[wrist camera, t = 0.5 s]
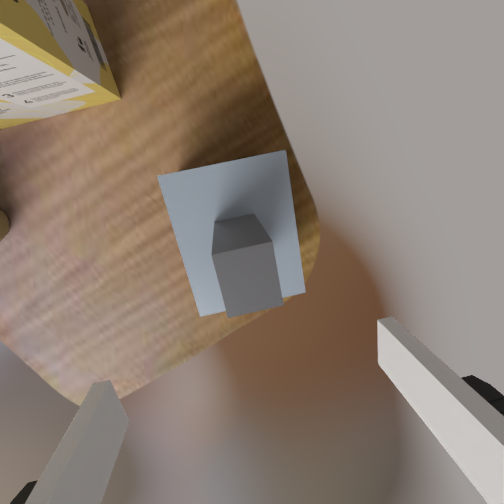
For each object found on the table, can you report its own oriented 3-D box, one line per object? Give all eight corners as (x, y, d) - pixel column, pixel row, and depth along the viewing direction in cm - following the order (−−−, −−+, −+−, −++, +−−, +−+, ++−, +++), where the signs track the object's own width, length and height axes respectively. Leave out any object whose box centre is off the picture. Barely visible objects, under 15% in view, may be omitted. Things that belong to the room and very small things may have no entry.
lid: (159, 175, 31) (118, 185, 18) (283, 150, 31) (324, 142, 19) (200, 312, 37) (191, 387, 25) (302, 288, 38) (343, 350, 26)
